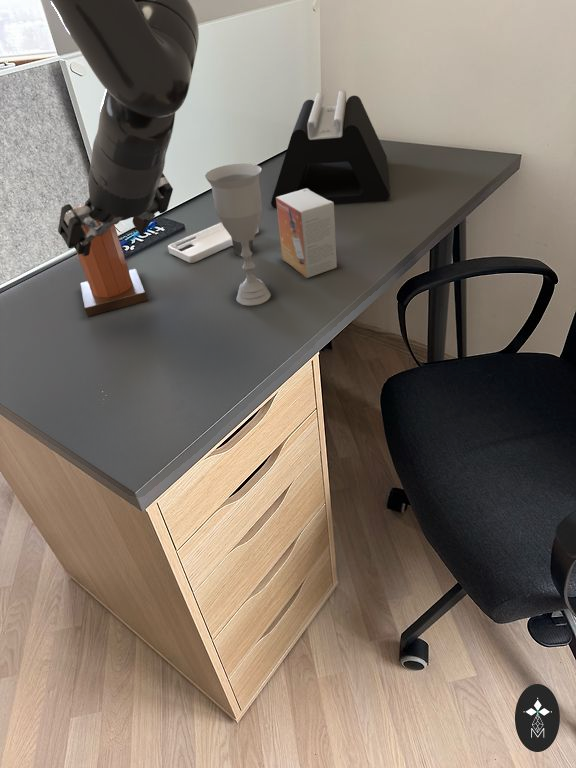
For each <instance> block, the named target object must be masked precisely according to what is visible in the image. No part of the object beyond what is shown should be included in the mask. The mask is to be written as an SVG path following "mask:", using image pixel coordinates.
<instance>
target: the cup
mask: <svg viewBox="0 0 576 768" xmlns="http://www.w3.org/2000/svg"><path fill="white" fill-rule="evenodd" d="M83 206H85V204H83V205H79V206H77V207H73V209H77V208H80V207H83ZM95 221H96V220H95ZM96 223H97V224H98V226H100V225H101V224H102V223H100V222H98V221H96ZM83 229H84V231H85V232H86V234H87V233H88V232H89V229H88V228H87V226H86V225H85V226H84V228H83ZM118 234H119V233H118V231H117V227H116V224H114V225H113V226H112V227H111V228H110V229H109V230H108V231H106V232H105V233H104V234H103V235H102V236H96V237H95V238H94V239H93V240H92V241H91V246H90V253H89V255H87V256H85V257H84V256H83V255H82V254H80V255H79V254H78V252H77V251H76V253H77V257H78V260H79V262H80V264H81V267H82V270H83V273H84V276H85V278H86V281H88V284H89V287H90V289H91V292H92V295H94V296H97V297H112V296H115V295H119V294H121V293H123V292H125V291H127V290H129V288H130V287H131V286H132V285H133V283H132V280H131V276H130V273H129V270H130V269H129V267H128V263H127V260H126V258H125V254H124V251H123V247H122V245H121V242H120V241H121V240H120V237H119V235H118Z"/></svg>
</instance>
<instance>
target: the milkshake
mask: <svg viewBox="0 0 576 768" xmlns="http://www.w3.org/2000/svg"><path fill="white" fill-rule="evenodd" d="M229 236H230V234H229ZM230 240H231V244H232V245H231V247H232V251H233V254H234V255H235V256H236V257H242V256H241V253H242V245H241V243H240V242H236V241H234V240H233V238H232V237H231V236H230ZM253 240H254V239H252V240H250V241H249V249H250V251H251V252H252V253H253V252H254V241H253Z"/></svg>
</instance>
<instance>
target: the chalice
mask: <svg viewBox="0 0 576 768" xmlns="http://www.w3.org/2000/svg"><path fill="white" fill-rule="evenodd" d="M262 169H263V168H261V166H260V165H257V164H255V163H254V164H253V163H232V164H225V165H221V166H218V167H215V168H213V169H210V170H209V171H207V172H206V173H205V175H204V177H205V179H206V181H207V182H208V183H209V185H210V186H211V187H210V188H211V192H212V197H213V202H214V208H215V212H216V215H217V217H218V219H219V220H220V223H222V224H223V226H224V228H225V229H226V230H227V232H228V233H229V234H230V236H231V237H232V238H233V240H234V241H236V242H240V243H241V245H242V253H241V256H240V257H242V259H243V260H244V262H243V265H242V269H243V270H244V271H245V273H246V278H245V279H244V280H243V281H242V282H241V283H240V284H239V286H238V291H237V296H236V298H235V299H236V302H237V303H238V304H240V305H242V306H259V305H261V304H264V303H265V302H267V301H268V300H269V299H270V298H271V296H272V294H271V292H270V291H269V289H268V287H267V285H266V284H265V282H264V281H263V280H261V279H260V278H257V277H256V276H255V275H254V268H255V267H256V265H255V263H253V262H252V256H253V252H251V251H250V249H249V241H250V240H254V239H255V237H256V235H257V234H256V231H257V228H259V224H260V222H261V217H262V212H263V200H262V199H263V198H262V193H261V186H260V179H259V178H260V176H261V173H262Z"/></svg>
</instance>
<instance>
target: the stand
mask: <svg viewBox="0 0 576 768" xmlns="http://www.w3.org/2000/svg"><path fill="white" fill-rule="evenodd" d="M128 270H129V273H130V276H131V280H132V283H133V285H132V286H131V287H130V288H129V290H127V291H125V292H123V293H121V294H119V295H115V296H112V297H97V296H94V295H92V292H91V289H90V287H89V284H88V281H87V280H86V281H82V282H80V283H79V286H80V290H81V297H82V302H83V307H84V311H85V313H86V316H87V317H88V318H89V317H92V316H96V315H100V314H103V313H108V312H110V311H114V310H119V309H121V308H125V307H126V308H127V307H129V306H133V305H137V304H140V303H143V302H147V301H148V297H147V293H146V291H145V288H144V286H143V283H142V280H141V277H140V275H139V272H138V270H137V268H133V269H128Z"/></svg>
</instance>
